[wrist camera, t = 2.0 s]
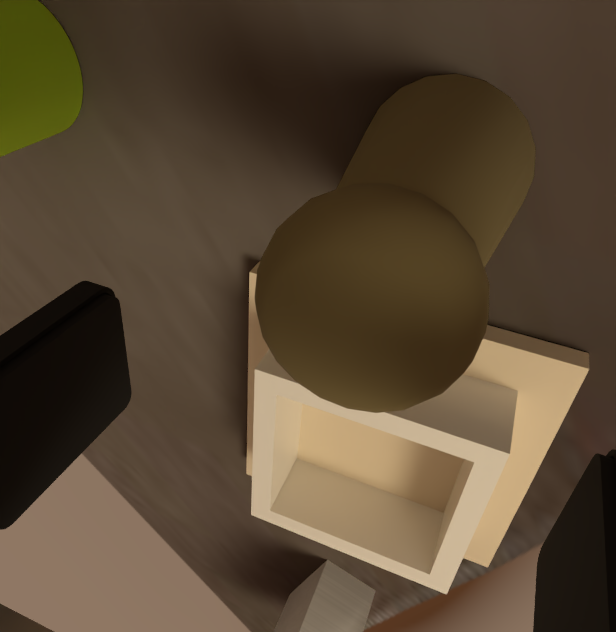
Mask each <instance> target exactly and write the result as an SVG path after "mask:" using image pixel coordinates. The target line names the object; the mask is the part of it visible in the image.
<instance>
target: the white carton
mask: <svg viewBox="0 0 616 632" xmlns="http://www.w3.org/2000/svg"><path fill="white" fill-rule="evenodd" d="M374 594H375V590H374V589H372V588H371V587H369V586H367V585H366V584H364V583H363V582H361V581H360V580H358V579H357V578H355V577H353V576H352V575H350V574H349V573H347V572H346V571H344V570H343V569H341V568H339V567H338V566H336V565H335V564H333V563H332V562H330V561H329V560H327V561H325V562H324V563H323V564H322V565H321V566H320V567H319V568H318V569H317V570H316V571H315V572H313V573H312V574H311V575H310V576H309V577H308V578H307V579H306V580H305V581H304V582H302V583H301V584H300V585H299V586H298V587H297V588H296V589H295V590H294V591H293V592H292V593H290V595H289V597H288V599H287V602H286V604H285V606H284V609H283V611H282V614H281V616H280V618H279V621H278V623H277V625H276V628H275V630H274V632H363V630H364V627H365V624H366V620H367V617H368V614H369V611H370V607H371V604H372V601H373V597H374Z"/></svg>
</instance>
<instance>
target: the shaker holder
mask: <svg viewBox="0 0 616 632" xmlns="http://www.w3.org/2000/svg"><path fill="white" fill-rule="evenodd" d="M259 264H260V261H259V262H258V263H257V264H256V266H255V267H254V268H253V269H252V270H251V271H250V272H249V340H248V410H247V474H248V475H251V476H252V505H251V515H253V516H255V517H258V518H260V519H263V520H265V521H268V522H270V523H272V524H275V525H277V526H280V527H282V528H285V529H287V530H290V531H292V532H295V533H297V534H299V535H302V536H304V537H307V538H309V539H312V540H314V541H317V542H319V543H322V544H324V545H326V546H329V547H331V548H334V549H336V550H339V551H341V552H344V553H346V554H349V555H351V556H353V557H356V558H358V559H361V560H363V561H366V562H368V563H371V564H373V565H376V566H378V567H380V568H383V569H385V570H388V571H390V572H393V573H395V574H398V575H400V576H402V577H405V578H407V579H410V580H412V581H415V582H417V583H420V584H422V585H425V586H427V587H429V588H432V589H434V590H437V591H439V592H442V593H444V594H447V592H448V590H449V588H450V586H451V583H452V581H453V579H454V577H455V575H456V572H457V570H458V568H459V566H460V563H461V561H462V559H463V558H465V559H467V560H470V561H472V562H475V563H478V564H480V565H483V566H485V567H488V566H489V564H490V562H491V560H492V558H493V556H494V554H495V552H496V550H497V548H498V547H499V545H500V543H501V541H502V539H503V537H504V535H505V533H506V531H507V529H508V527H509V525H510V523H511V521H512V519H513V517H514V515H515V513H516V511H517V509H518V507H519V505H520V504H521V502H522V500H523V498H524V496H525V494H526V492H527V490H528V488H529V486H530V484H531V482H532V480H533V478H534V476H535V474H536V472H537V470H538V468H539V466H540V464H541V462H542V460H543V459H544V457H545V455H546V453H547V451H548V449H549V447H550V445H551V443H552V441H553V439H554V437H555V435H556V433H557V431H558V429H559V427H560V425H561V423H562V421H563V419H564V417H565V416H566V414H567V412H568V410H569V408H570V406H571V404H572V402H573V400H574V398H575V396H576V394H577V392H578V390H579V388H580V386H581V384H582V382H583V380H584V378H585V376H586V374H587V373H588V371H589V353H586V352H583V351H579V350H575V349H572V348H568V347H565V346H561V345H557V344H554V343H550V342H547V341H543V340H540V339H536V338H532V337H529V336H525V335H522V334H518V333H514V332H511V331H507V330H504V329H500V328H497V327H493V326H489V325H487V328H486V333H485V335H484V337H483V340H482V342H481V344H480V346H479V349H478V351H477V353H476V355H475V358H474V360H473V362H472V363H471V364H470V366H469V367H468V368H467V370H466V371H465V372H464V374H463V375H462V376H461V377H459V378H458V379H457V380H456V381H455V382H454V383H453V384H452V385H451V386H450V387H449V388H448V389H447V390H446V391H445V392H444V393H443V394H440V395H438V396H436V397H433V398H431V399H429V400H426V401H424V402H422V403H419V404H417V405H415V406H412V407H410V408H408V409H405V410H400V411H391V412H381V413H373V412H366V411H359V410H353V409H347V408H345V407H342V406H339V405H337V404H334V403H332V402H329V401H327V400H324V399H322V398H320V397H318V396H317V395H315V394H314V393H312V392H311V391H309V390H308V389H306V388H305V387H303V386H302V385H300V384H299V383H297V382H296V381H295V380H294V379H293V378H292V377H291V376H290V375H289V374H288V373H287V372H286V371H285V370H284V369H283V368H282V367H281V365H280V364H279V363H278V362H277V361H276V360H275V358H274V356H273V355H272V353H271V351H270V349H269V347H268V346H267V344H266V342H265V340H264V339H263V337H262V333H261V328H260V324H259V320H258V316H257V311H256V305H255V298H254V297H255V287H256V278H257V269H258V267H259Z"/></svg>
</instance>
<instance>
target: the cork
mask: <svg viewBox="0 0 616 632" xmlns="http://www.w3.org/2000/svg"><path fill="white" fill-rule="evenodd" d="M535 152H536V148H535V144H534V141H533V138H532V134H531V131H530V127H529V124H528V121H527V119H526V118H525V117H524V115H523V114H522V113H521V111H520V110H519V109H518V107H517V106H516V105H515V103H514V102H513V100H512V99H511V98H510V97H509V96H507V95H506V94H504V93H503V92H501V91H500V90H498V89H497V88H495V87H494V86H492V85H491V84H489V83H488V82H486V81H484V80H480V79H476V78H472V77H468V76H464V75H459V74H447V75H436V76H426V77H424V78H422V79H420V80H417V81H415V82H413V83H411V84H408V85H406V86H404V87H402V88H400V89H399V90H398V91H397V92H395V93H394V94H393V95H392V96H391V97H390V98H389V99H388V100H387V101H386V102H384V103H383V104H382V105H381V106H380V107H379V109H378V111H377V112H376V114H375V116H374V118H373V119H372V121H371V123H370V125H369V126H368V128H367V130H366V132H365V134H364V136H363V138H362V140H361V142H360V144H359V146H358V148H357V150H356V151H355V153H354V155H353V157H352V159H351V161H350V163H349V165H348V167H347V169H346V171H345V173H344V175H343V177H342V179H341V181H340V183H339V185H338V187H337V189H336V190H334V191H331V192H328V193H325V194H322V195H320V196H317V197H314V198H311V199H310V200H309V201H308V202H306V203H305V204H304V205H303V206H302V207H301V208H299V209H298V210H297V211H296V212H295V213H294V214H292V215H291V216H290V217H289V218H288V219H287V220H286V221H285V222H284V223H283V224H282V225H280V226H279V227H278V228H277V229H276V231H275V233H274V235H273V237H272V239H271V241H270V243H269V245H268V247H267V249H266V250H265V252H264V254H263V256H262V259H261V262H260V264H259V267H258V269H257V278H256V287H255V297H254V298H255V305H256V311H257V316H258V320H259V324H260V328H261V333H262V337H263V339H264V340H265V342H266V344H267V346H268V347H269V349H270V351H271V353H272V355H273V356H274V358H275V360H276V361H277V362H278V363H279V364H280V365H281V367H282V368H283V369H284V370H285V371H286V372H287V373H288V374H289V375H290V376H291V377H292V378H293V379H294V380H295V381H296V382H297V383H299V384H300V385H302V386H303V387H305V388H306V389H308V390H309V391H311V392H312V393H314V394H315V395H317V396H318V397H320V398H322V399H324V400H327V401H329V402H332V403H334V404H337V405H339V406H342V407H345V408H347V409H353V410H359V411H366V412H373V413H381V412H391V411H400V410H405V409H408V408H410V407H412V406H415V405H417V404H419V403H422V402H424V401H426V400H429V399H431V398H433V397H436V396H438V395H440V394H443V393H444V392H445V391H446V390H447V389H448V388H449V387H450V386H451V385H452V384H453V383H454V382H455V381H456V380H457V379H458V378H459V377H461V376H462V375H463V374H464V372H465V371H466V370H467V368H468V367H469V366H470V364H471V363H472V362H473V360H474V358H475V355H476V353H477V351H478V349H479V346H480V344H481V342H482V340H483V337H484V335H485V333H486V328H487V323H488V318H489V281H488V278H487V275H486V271H485V266H486V264H487V262H488V261H489V259H490V257H491V256H492V254H493V252H494V251H495V249H496V247H497V246H498V244H499V242H500V241H501V239H502V237H503V236H504V234H505V232H506V230H507V229H508V227H509V225H510V224H511V222H512V220H513V219H514V217H515V215H516V214H517V212H518V210H519V209H520V207H521V205H522V203H523V202H524V199H525V197H526V195H527V192H528V190H529V187H530V185H531V183H532V180H533V178H534V168H535Z"/></svg>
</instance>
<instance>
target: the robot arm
mask: <svg viewBox="0 0 616 632" xmlns="http://www.w3.org/2000/svg"><path fill="white" fill-rule="evenodd" d="M130 398H131V385H130V377H129V369H128V362H127V354H126V347H125V339H124V331H123V324H122V316H121V308H120V303H119V300H118V299H117V298H116V297H115V294H114V292H113V291H112V289H110V288H108V287H105V286H101V285H98V284H95V283H92V282H89V281H82V282H80V283H78V284H76V285H75V286H73V287H72V288H70V289H69V290H67V291H66V292H65V293H63V294H62V295H60V296H59V297H57V298H56V299H54V300H53V301H51V302H50V303H48V304H47V305H45V306H44V307H42V308H41V309H39V310H38V311H36V312H35V313H33V314H32V315H30V316H29V317H27V318H26V319H24V320H23V321H22V322H20V323H19V324H17V325H16V326H14V327H13V328H11V329H10V330H8V331H7V332H5V333H4V334H2V335H1V336H0V529H6V528H7V527H9V526H10V525H12V524H13V523H14V522H15V521H16V520H17V519H18V518H19V517H20V516H21V515H22V514H23V513H24V512H25V510H27V509H28V508H29V507H30V505H31V504H32V503H33V502H34V501H35V500H36V499H37V498H38V497H39V496H40V495H41V494H42V493H43V492H44V491H45V490H46V489H47V488H48V487H49V486H50V485H51V484H52V483H53V482H54V481H55V480H56V478H58V477H59V476H60V475H61V474H62V473H63V472H64V470H66V468H67V467H69V465H70V464H71V463H72V462H73V461H74V460H75V459H76V458H77V457H78V456H79V455H80V454H81V453H82V452H83V451H84V450H85V449H86V448H87V447H88V446H89V445H90V444H91V443H92V442H93V441H94V440H95V439H96V438H97V437H98V436H99V435H100V434H101V433H102V432H103V431H104V430H105V429H106V428H107V427H108V426H109V424H110V423H111V422H112V421H113V420H114V419H115V418H116V417H117V416H118V415H119V414H120V413H121V412H122V411H123V410H124V409H125V408H126V407H127V405H128V403H129V401H130ZM0 632H53V631H52V630H50V629H48V628H46V627H44V626H42V625H40V624H38V623H36V622H35V621H33V620H31V619H29V618H27V617H25V616H23V615H21V614H19V613H17V612H15V611H13V610H11V609H9V608H8V607H5V606H4V605H2V604H0ZM533 632H616V450H611V451H610V452H609V453H608V454H607V455H606V456H604V455H601V454H595V455H594V457H593V458H592V460H591V461H590V463H589V465H588V467H587V468H586V470H585V472H584V474H583V475H582V477H581V479H580V481H579V482H578V484H577V486H576V488H575V489H574V491H573V493H572V495H571V496H570V498H569V500H568V502H567V503H566V505H565V507H564V509H563V510H562V512H561V514H560V516H559V517H558V519H557V521H556V523H555V524H554V526H553V528H552V530H551V531H550V533H549V535H548V537H547V538H546V540H545V542H544V544H543V546H542V548H541V551H540V554H539V557H538V563H537V576H536V594H535V611H534V629H533Z"/></svg>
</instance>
